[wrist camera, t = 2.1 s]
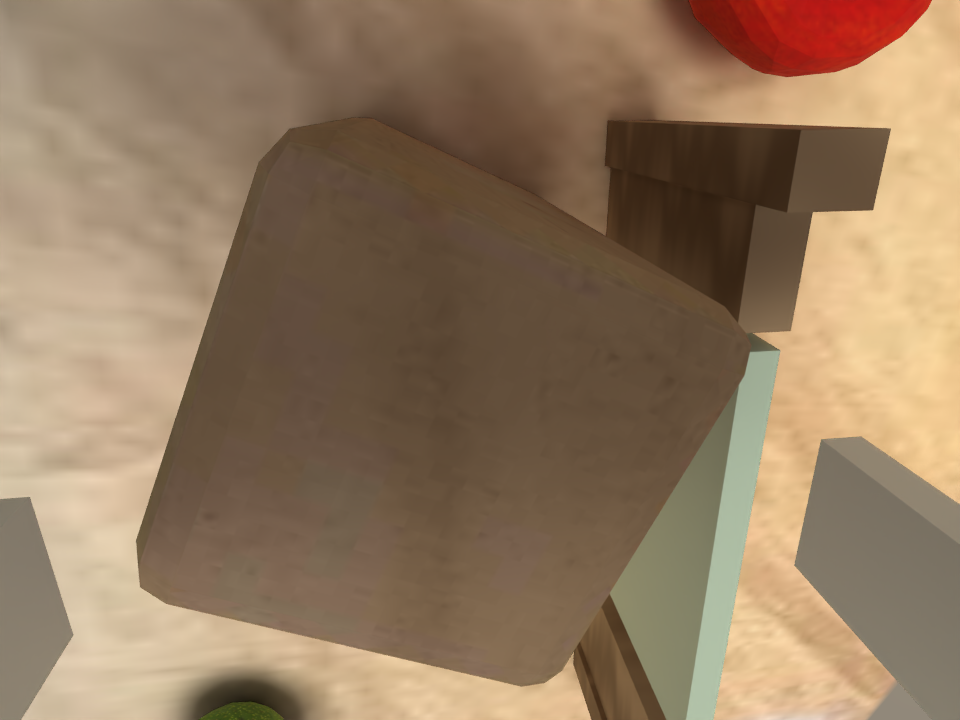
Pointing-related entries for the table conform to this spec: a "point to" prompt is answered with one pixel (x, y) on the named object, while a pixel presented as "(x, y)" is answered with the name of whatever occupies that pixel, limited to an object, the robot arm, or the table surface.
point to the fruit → (243, 712)
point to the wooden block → (427, 411)
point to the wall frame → (718, 269)
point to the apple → (806, 31)
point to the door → (699, 553)
